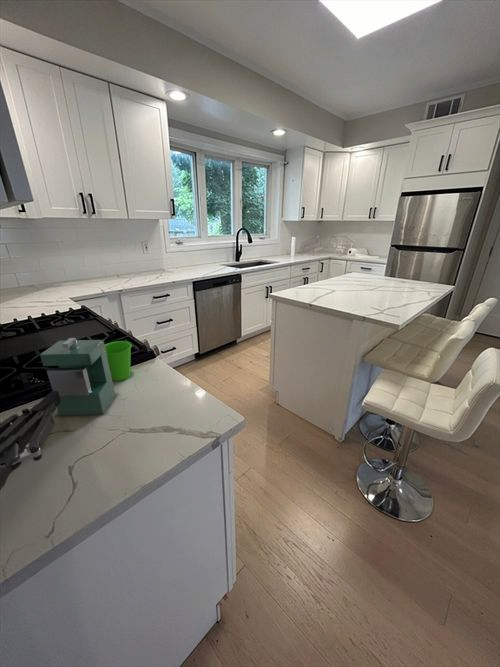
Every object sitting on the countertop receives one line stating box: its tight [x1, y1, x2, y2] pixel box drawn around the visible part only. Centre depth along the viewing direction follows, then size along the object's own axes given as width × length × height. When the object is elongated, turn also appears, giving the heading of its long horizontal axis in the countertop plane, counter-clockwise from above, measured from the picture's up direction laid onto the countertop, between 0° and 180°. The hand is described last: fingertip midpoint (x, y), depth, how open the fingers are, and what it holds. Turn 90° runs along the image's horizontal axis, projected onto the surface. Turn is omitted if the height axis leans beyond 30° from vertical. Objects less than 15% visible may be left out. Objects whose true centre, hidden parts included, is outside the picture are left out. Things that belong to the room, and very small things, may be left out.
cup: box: [104, 340, 133, 382], centre depth 86 cm, size 9×9×11 cm
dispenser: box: [39, 337, 116, 416], centre depth 71 cm, size 11×8×20 cm
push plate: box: [46, 367, 92, 396], centre depth 66 cm, size 8×2×7 cm, turn 94°
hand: (56, 396), depth 60 cm, fingers closed
